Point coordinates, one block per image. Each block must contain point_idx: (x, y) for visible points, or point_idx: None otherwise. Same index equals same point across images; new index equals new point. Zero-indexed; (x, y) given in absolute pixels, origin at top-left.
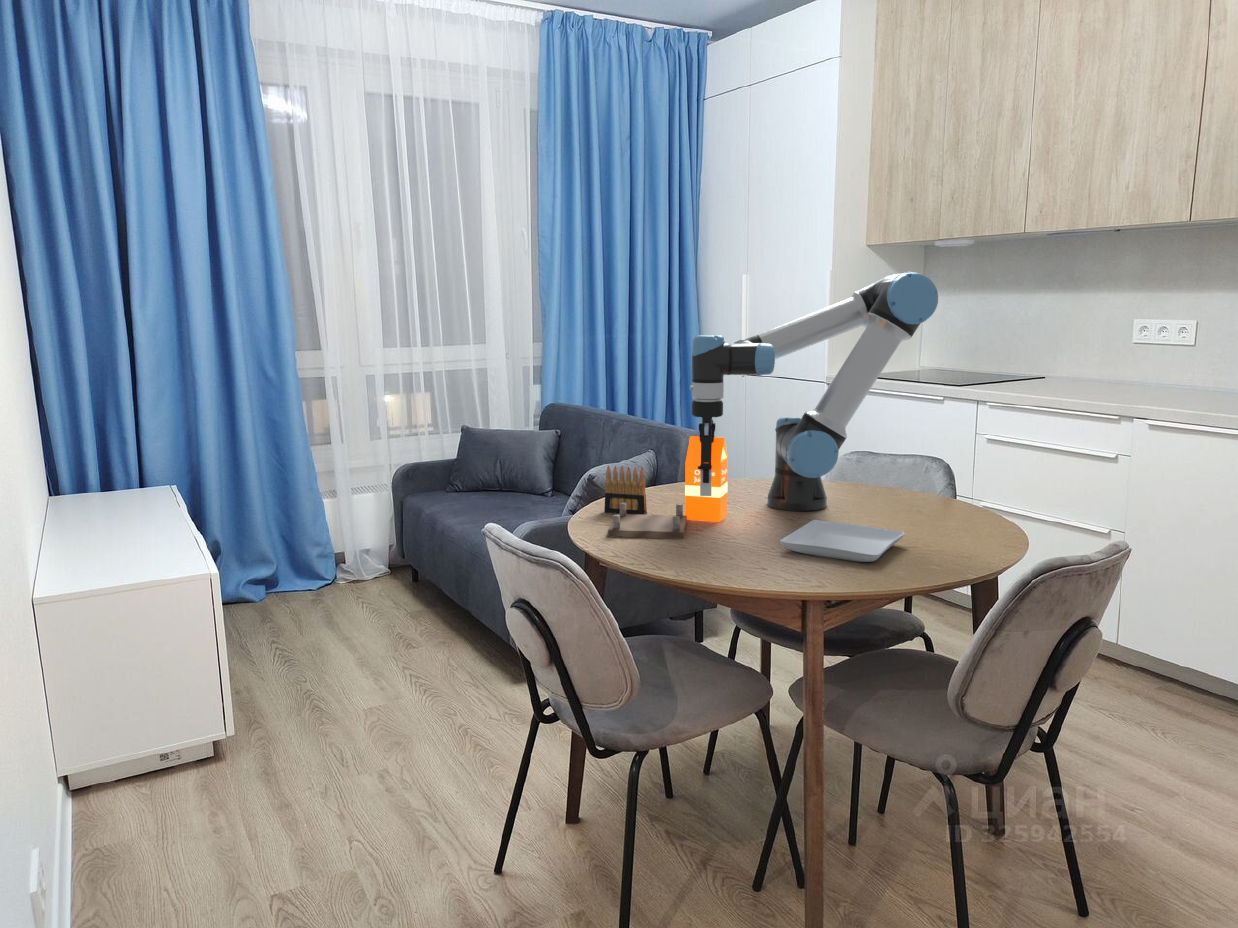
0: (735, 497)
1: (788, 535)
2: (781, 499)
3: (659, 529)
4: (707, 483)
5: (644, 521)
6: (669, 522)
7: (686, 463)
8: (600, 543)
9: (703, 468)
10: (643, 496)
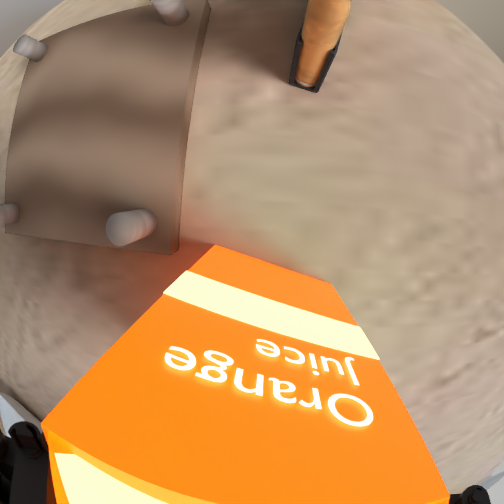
0: (477, 392)
1: (21, 417)
2: None
3: (17, 165)
4: None
5: (89, 99)
6: (73, 186)
7: (61, 409)
8: (13, 57)
9: (12, 440)
10: (296, 43)
